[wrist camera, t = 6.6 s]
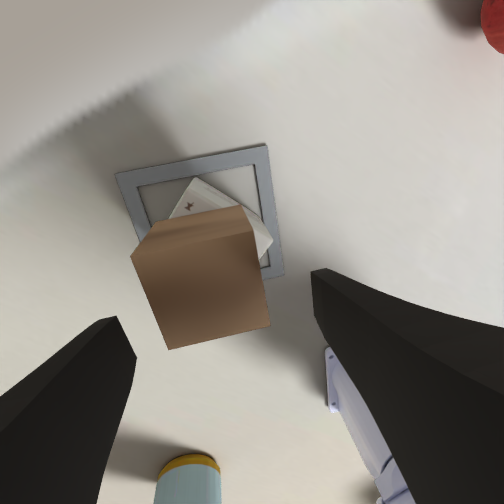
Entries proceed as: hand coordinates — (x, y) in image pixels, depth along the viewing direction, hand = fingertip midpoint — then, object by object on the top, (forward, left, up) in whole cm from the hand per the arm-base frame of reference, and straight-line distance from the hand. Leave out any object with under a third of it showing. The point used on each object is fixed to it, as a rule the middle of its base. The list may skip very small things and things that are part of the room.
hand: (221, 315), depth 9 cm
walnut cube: (0, 0, -5) cm, 5 cm away
